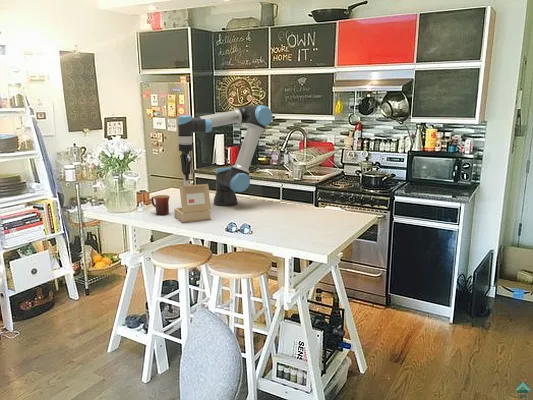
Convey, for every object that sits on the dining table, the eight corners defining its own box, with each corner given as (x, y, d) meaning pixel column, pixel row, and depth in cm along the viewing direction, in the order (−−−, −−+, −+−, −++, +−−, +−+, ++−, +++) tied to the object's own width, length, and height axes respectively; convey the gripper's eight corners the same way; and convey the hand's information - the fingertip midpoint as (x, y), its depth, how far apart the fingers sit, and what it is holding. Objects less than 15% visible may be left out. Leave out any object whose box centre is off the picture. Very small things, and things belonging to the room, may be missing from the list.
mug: (173, 213, 260) (172, 195, 258) (163, 216, 252) (162, 198, 250) (157, 210, 265) (156, 193, 263) (147, 213, 258) (146, 196, 255)
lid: (207, 184, 246) (210, 183, 243) (210, 209, 246) (212, 209, 243) (179, 186, 239) (181, 185, 235) (182, 212, 238) (184, 212, 235)
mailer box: (201, 213, 259) (201, 205, 258) (210, 219, 247) (210, 210, 246) (174, 216, 252) (174, 208, 251) (182, 223, 240) (182, 214, 239)
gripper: (175, 143, 252) (176, 184, 257) (182, 145, 240) (183, 188, 246) (188, 142, 255) (189, 183, 260) (195, 144, 244) (196, 187, 249)
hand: (186, 185), depth 253 cm, fingers closed
